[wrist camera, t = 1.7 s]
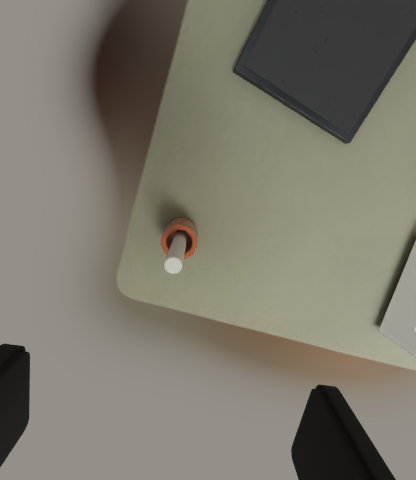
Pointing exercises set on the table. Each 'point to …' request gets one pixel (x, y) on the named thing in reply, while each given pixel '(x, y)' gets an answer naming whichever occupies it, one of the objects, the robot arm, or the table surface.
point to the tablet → (328, 56)
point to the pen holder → (185, 226)
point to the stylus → (176, 253)
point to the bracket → (403, 309)
